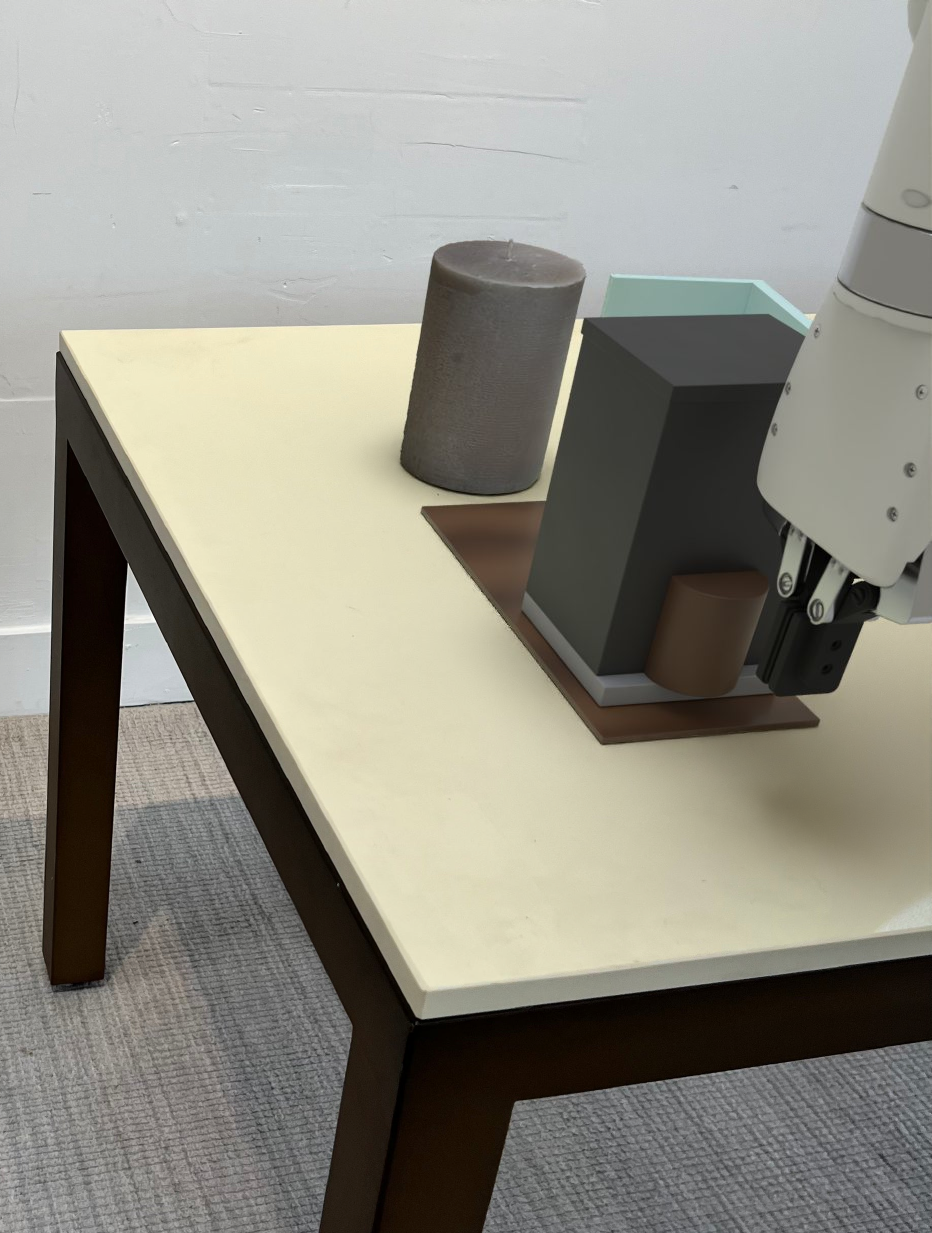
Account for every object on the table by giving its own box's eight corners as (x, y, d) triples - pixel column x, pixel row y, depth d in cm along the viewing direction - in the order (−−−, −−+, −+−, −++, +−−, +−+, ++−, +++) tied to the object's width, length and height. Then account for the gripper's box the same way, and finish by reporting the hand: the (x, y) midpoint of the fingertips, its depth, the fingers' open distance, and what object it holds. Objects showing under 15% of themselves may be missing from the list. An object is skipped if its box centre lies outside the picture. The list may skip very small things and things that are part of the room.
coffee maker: (795, 710, 71) (911, 400, 62) (611, 725, 69) (702, 407, 60) (683, 598, 81) (768, 313, 71) (518, 608, 79) (583, 317, 69)
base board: (818, 726, 71) (821, 719, 71) (601, 744, 69) (603, 737, 69) (593, 503, 92) (594, 498, 91) (420, 511, 89) (421, 505, 89)
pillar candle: (374, 445, 98) (406, 222, 89) (494, 431, 101) (536, 215, 92) (445, 504, 90) (487, 267, 82) (571, 487, 93) (625, 257, 85)
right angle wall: (588, 368, 112) (610, 273, 108) (734, 374, 113) (761, 280, 109) (633, 427, 103) (659, 325, 98) (792, 432, 103) (825, 331, 99)
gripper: (1191, 336, 47) (976, 777, 58) (914, 216, 59) (778, 601, 69) (998, 338, 46) (814, 790, 56) (754, 215, 57) (640, 608, 68)
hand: (794, 684), depth 63 cm, fingers closed
